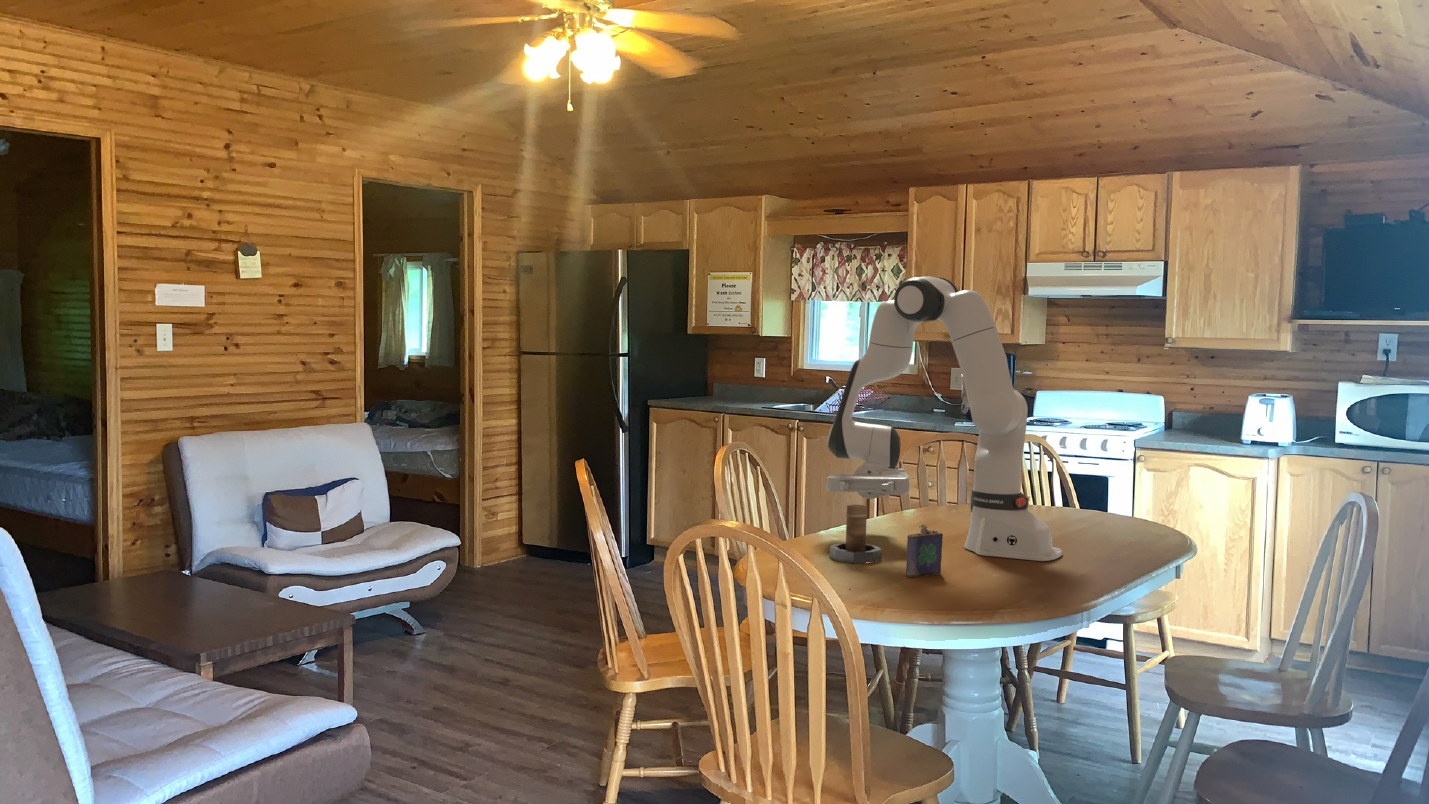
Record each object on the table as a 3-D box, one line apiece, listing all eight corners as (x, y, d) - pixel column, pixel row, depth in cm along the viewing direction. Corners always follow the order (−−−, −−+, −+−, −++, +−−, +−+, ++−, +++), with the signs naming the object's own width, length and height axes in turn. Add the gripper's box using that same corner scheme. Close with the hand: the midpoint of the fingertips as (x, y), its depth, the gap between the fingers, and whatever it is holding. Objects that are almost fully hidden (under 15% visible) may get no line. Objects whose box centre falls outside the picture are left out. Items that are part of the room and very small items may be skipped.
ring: (886, 557, 245) (887, 546, 245) (866, 565, 236) (866, 554, 236) (844, 551, 251) (844, 540, 251) (823, 558, 242) (823, 548, 242)
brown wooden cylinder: (868, 558, 244) (870, 506, 244) (859, 561, 241) (861, 508, 240) (850, 555, 247) (852, 503, 246) (841, 558, 243) (843, 506, 242)
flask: (911, 578, 225) (912, 528, 224) (901, 575, 227) (903, 525, 227) (943, 574, 229) (945, 525, 229) (934, 571, 232) (936, 522, 231)
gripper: (829, 467, 270) (821, 474, 256) (911, 468, 265) (907, 475, 252) (829, 492, 270) (821, 500, 257) (911, 493, 265) (908, 501, 252)
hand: (865, 487), depth 254 cm, fingers open, 8 cm apart
